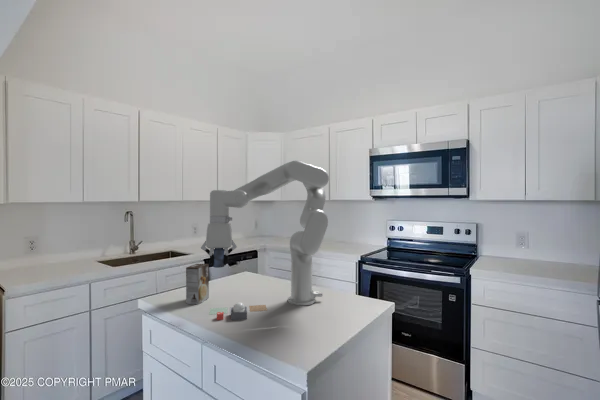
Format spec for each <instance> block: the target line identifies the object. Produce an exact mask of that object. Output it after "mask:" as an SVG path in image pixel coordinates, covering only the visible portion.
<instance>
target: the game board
mask: <svg viewBox="0 0 600 400" xmlns="http://www.w3.org/2000/svg"><path fill="white" fill-rule="evenodd" d="M233 307H234V306H230V307H216V308H215V307H213V308H209V313H208V315H209V316H210V315H216V321H223V320H224V318H225V317H224V314H228V309H229V314H230V321H239V320H240V321H241V320H247V319H248V307H249V312H250V313H253V312H264V311H265V312H267V311H268V307H267V305H266V304H257V305H249V306H248V305H244V307H245V312H234V313H233Z"/></svg>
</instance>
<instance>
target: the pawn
mask: <svg viewBox="0 0 600 400" xmlns="http://www.w3.org/2000/svg"><path fill="white" fill-rule="evenodd" d="M224 255H225V250H224V248H214V250H213V256H214V262H213V266H212V267H213V268H219V269H220V268H224V267H225V265H224Z"/></svg>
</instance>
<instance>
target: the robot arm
mask: <svg viewBox="0 0 600 400" xmlns="http://www.w3.org/2000/svg"><path fill="white" fill-rule="evenodd" d="M329 180H330V177H329V173H328V171H326V170H325V169H323V168H322V167H319V166H315V165H313V164H310V163H306V162H303V161H301V160H291V161H289V162H286V163H283V164H282V165H280V166H278V167H276V168H274V169H272V170H270V171H268V172H266V173H264V174H262V175H260V176H258V177H257V178H255V179H253V180H251V181H249V182H247V183H245V184H244V185H242V186H240V187H239V186H238V187H237V188H235V189H234V190H224V189H213V190H211V191H210V192H209V223H207V227H206V235H205V240H204V243H203V244H202V245H201V247H200V249H201V250H203V251H204V252H206V254H207V255H208V256H209V264H211V267H213V262H214V256H213V250H214V249H215V248H223V249H224V250H225V255H224V266H226V265H227V264H229V255H230V253H232V252H233V251H234V250H236V249H237V248H238V246H237V244H236V243H235V241H234V240H233V234H232V225H231V223H230V222H231V221H233V217H231V216H229V214H230V213H229V210H230V208H236V209H241V208H244V207H246V206H247V205H248V203H249V202H250V201H252V200H254V199H256V198H259V197H261V196H267V195H269V194H271V193H275V191H278V190H279V189H281V188H284V186H285V187H286V185H289V184H291V183H292V182H294V181H297V182H299V183H302V185H303V186H304V188H305V190H306V193H307V194H306V195H307V196H306V201H305V203H304V207H303V209H302V212H301V214H300V217H299V224H300V226H301V227H302V228H303V229H304V230H302V231H301V230H299V231H295V232H294V233H293V234H292V235H291V237H290V239H289V249H290V258H291V259H290V263H291V264H290V272H291V273H290V296H288V297H287V302H288V303H289V304H290V305H294V306H310V305H313V304H315V303H316V298H323V292H321V291H320V292H319V291H313V256H314V255H315V254H317V253H318V252H319V250H320V248H321V246H322V244H323V240H324V238H325V235H326V232H327V229H328V226H329V218H328V215H327V214H326V212H325V211H324V206H325V202H326V198H327V197H326V196H327V195H326V191H325V188H324V187H325V186H326V185H328V183H329Z"/></svg>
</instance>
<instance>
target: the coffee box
mask: <svg viewBox="0 0 600 400" xmlns="http://www.w3.org/2000/svg"><path fill="white" fill-rule="evenodd" d="M209 264H210V263H195V264H192V265H190V266H188V267H187V266H186V268H185V286H186V287H185V288H186V289H185V301H186V302H185V303H186V304H188V305H189V304H190V305H200V304H202V303H203V302H205V301H206V300H208V299H209V298H210V295H209V294H210V288H209V287H210V285H209V284H210V283H209V281H210V279H209V278H210V277H209V274H210V273H209V272H210V271H209V270H210V268H209V267H210V265H209Z"/></svg>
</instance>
